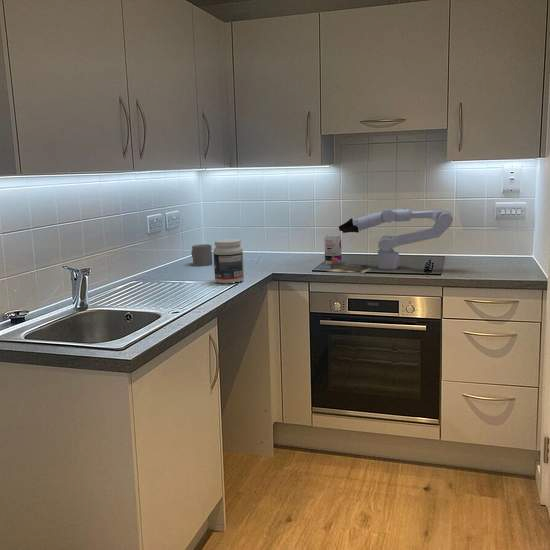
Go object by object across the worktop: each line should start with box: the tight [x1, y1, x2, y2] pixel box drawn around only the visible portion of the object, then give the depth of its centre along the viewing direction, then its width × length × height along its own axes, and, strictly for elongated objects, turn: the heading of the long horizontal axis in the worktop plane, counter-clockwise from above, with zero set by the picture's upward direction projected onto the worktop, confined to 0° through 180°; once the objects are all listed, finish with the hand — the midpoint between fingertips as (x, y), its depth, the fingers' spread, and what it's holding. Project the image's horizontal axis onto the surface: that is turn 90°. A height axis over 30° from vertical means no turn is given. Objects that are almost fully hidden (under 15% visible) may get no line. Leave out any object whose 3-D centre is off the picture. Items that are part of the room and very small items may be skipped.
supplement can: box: [324, 234, 343, 266], centre depth 305 cm, size 8×8×15 cm
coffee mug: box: [191, 243, 213, 267], centre depth 323 cm, size 13×10×10 cm
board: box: [326, 267, 372, 274], centre depth 287 cm, size 18×12×1 cm, turn 63°
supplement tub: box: [212, 238, 245, 284], centre depth 272 cm, size 13×13×18 cm
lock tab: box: [332, 258, 338, 263], centre depth 291 cm, size 2×2×2 cm
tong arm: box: [338, 262, 362, 271], centre depth 286 cm, size 14×3×3 cm, turn 43°
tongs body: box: [330, 262, 369, 270], centre depth 288 cm, size 17×4×2 cm, turn 63°
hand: (340, 229), depth 290 cm, fingers open, 7 cm apart
